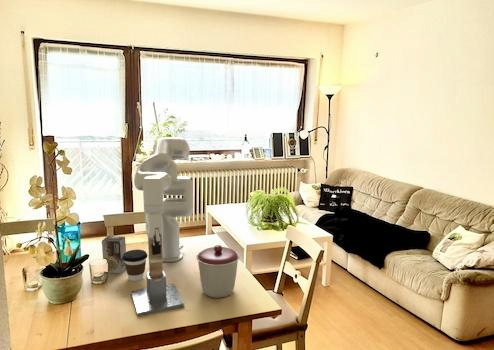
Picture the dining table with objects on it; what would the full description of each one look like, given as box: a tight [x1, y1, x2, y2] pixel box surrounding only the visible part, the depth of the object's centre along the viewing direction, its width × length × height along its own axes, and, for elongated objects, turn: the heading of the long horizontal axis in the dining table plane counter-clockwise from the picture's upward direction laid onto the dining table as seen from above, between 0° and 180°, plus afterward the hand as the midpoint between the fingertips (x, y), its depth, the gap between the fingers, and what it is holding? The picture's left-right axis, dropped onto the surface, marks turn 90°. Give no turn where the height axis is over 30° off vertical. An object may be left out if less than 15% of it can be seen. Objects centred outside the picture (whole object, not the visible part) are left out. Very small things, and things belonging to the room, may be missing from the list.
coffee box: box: [101, 235, 127, 274], centre depth 182 cm, size 9×6×16 cm
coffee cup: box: [122, 249, 148, 282], centre depth 174 cm, size 11×11×12 cm
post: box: [147, 236, 164, 278], centre depth 153 cm, size 5×5×20 cm
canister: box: [195, 244, 241, 299], centre depth 162 cm, size 18×18×21 cm
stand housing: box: [130, 270, 185, 318], centre depth 155 cm, size 18×18×12 cm
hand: (155, 251), depth 152 cm, fingers closed on post, 4 cm apart
